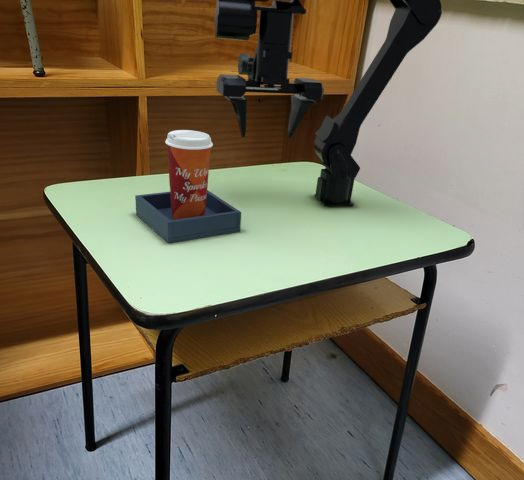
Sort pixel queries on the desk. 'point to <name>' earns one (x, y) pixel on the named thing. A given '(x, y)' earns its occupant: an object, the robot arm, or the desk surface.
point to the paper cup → (188, 172)
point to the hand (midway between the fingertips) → (266, 137)
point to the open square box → (161, 221)
